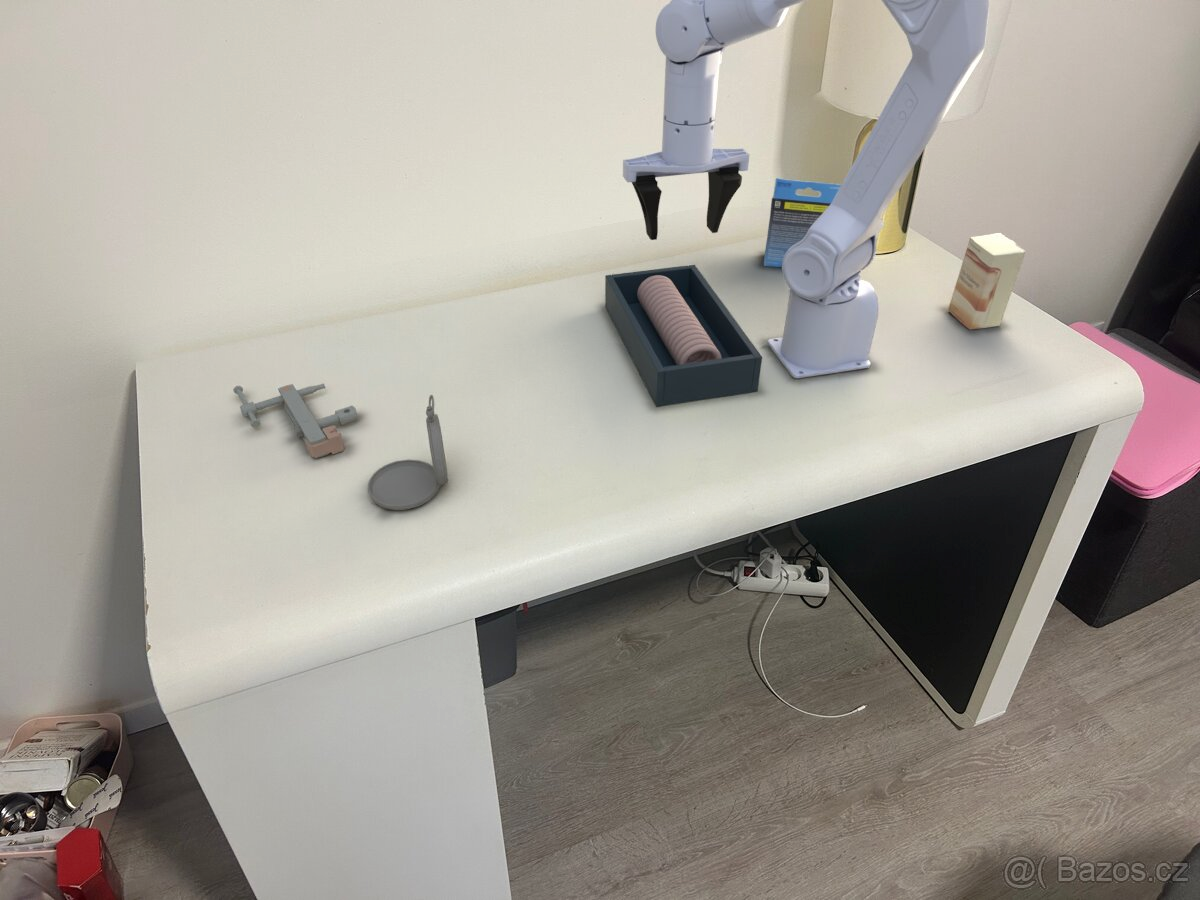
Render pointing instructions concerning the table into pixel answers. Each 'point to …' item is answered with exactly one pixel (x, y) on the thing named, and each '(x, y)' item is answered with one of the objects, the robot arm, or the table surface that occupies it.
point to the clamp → (304, 418)
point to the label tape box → (794, 215)
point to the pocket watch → (412, 474)
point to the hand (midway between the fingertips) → (682, 232)
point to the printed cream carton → (986, 280)
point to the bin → (654, 359)
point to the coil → (675, 322)
